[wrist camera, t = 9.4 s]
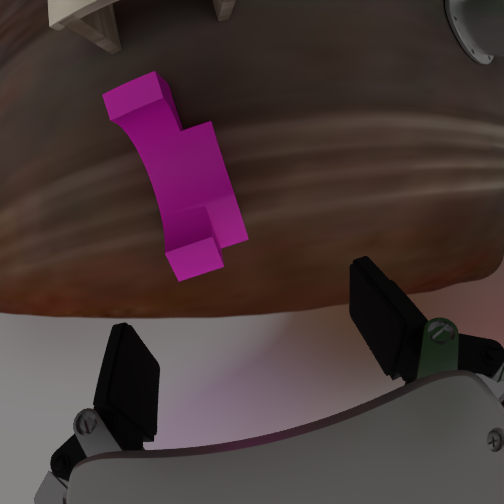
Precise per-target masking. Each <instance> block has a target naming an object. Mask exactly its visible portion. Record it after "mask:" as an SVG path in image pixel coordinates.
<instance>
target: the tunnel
mask: <svg viewBox="0 0 504 504" xmlns="http://www.w3.org/2000/svg"><path fill="white" fill-rule="evenodd" d="M116 1H118V0H48V13H49V27H51V28H53V29H55V30H58V31H59V30H61V29H62V28H64V27H66V28H68V29H70V30H72V31H74V32H75V33H77V34H79V35H81V36H82V37H84V38H86V39H88V40H89V41H91V42H93V43H94V44H96V45H98V46H99V47H101V48H103V49H104V50H106V51H107V52H109V53H111V54H114V53H116V52H118V51H121V50H122V49H121V44H120V39H119V35H118V30H117V24H116V19H115V14H114V8H113V4H112V3H114V2H116ZM235 1H236V0H213V4H214V7H215V11H216V14H217V18H218V21H222V20H227V19H230V16H231V13H232V10H233V7H234V4H235Z"/></svg>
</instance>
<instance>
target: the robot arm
mask: <svg viewBox="0 0 504 504" xmlns="http://www.w3.org/2000/svg"><path fill="white" fill-rule="evenodd" d="M445 8H446V14H447V17H448V20H449V23H450V25H451V28H452V30H453V32H454V34H455V36H456V38H457V40H458V42H459V43H460V45H461V46H462V48H463V49H464V50H465V52H466V53H467V54H468V55H469V56H470V57H471V58H472V59H473V60H474V61H475V62H477V63H479V64H489V63H490V62H491V61H492V59H493V56H503V57H504V0H445ZM349 312H350V316H351V318H352V320H353V321H354V323H355V324H356V327H357V328H358V330H359V331H360V333H361V334H362V336H363V338H364V340H365V341H366V343H367V345H368V346H369V348H370V350H371V351H372V353H373V354H374V356H375V358H376V360H377V361H378V363H379V365H380V366H381V368H382V370H383V372H384V373H385V374H386V375H387V376H388V375H390V376H391V378H392V380H395V379H397V378H399V377H402V379H403V380H404V381H405V385H404V386H402V387H400V388H397V389H395V390H393V391H391V392H389V393H387V394H384V395H382V396H380V397H378V398H375V399H373V400H371V401H368V402H366V403H363V404H361V405H358V406H356V407H353V408H351V409H348V410H346V411H343V412H340V413H338V414H335V415H332V416H330V417H327V418H324V419H321V420H317V421H315V422H311V423H308V424H305V425H301V426H298V427H294V428H291V429H287V430H284V431H280V432H276V433H272V434H267V435H263V436H259V437H254V438H249V439H244V440H239V441H233V442H227V443H221V444H214V445H207V446H199V447H189V448H179V449H163V450H145V449H144V447H143V442H153V441H154V435H156V434H157V412H158V392H159V391H158V390H159V377H160V367H159V364H158V362H157V361H156V359H155V358H154V357H153V355H152V354H151V353H150V351H149V350H148V348H147V347H146V346H145V344H144V343H143V341H142V340H141V339H140V337H139V336H138V334H137V333H136V331H135V330H134V328H133V327H132V326H131V325H128V324H127V323H120V324H115V325H113V327H112V330H111V333H110V336H109V340H108V343H107V347H106V351H105V355H104V358H103V362H102V366H101V370H100V374H99V379H98V383H97V387H96V392H95V397H94V402H93V405H94V409H90V408H87V409H83V410H82V411H80V412H79V413H78V414H77V416H76V417H75V419H74V423H73V429H74V432H75V434H74V435H73V436H71V437H70V438H69V439H68V440H67V441H66V442H65V443H64V444H63V445H62V446H61V447H60V448H59V449H57V450H56V451H55V452H54V454H53V455H52V457H51V462H50V465H51V469H52V472H50V471H48V473H47V475H46V477H45V478H44V480H43V482H42V484H41V485H40V487H39V489H38V491H37V493H36V495H35V498H34V503H35V504H504V349H503V347H502V346H501V344H500V343H498V342H497V341H495V340H492V339H486V338H480V337H475V336H470V335H465V334H459V333H458V329H457V327H456V326H455V324H454V323H453V322H452V321H450V320H448V319H445V318H434V319H431V320H430V321H428V320H427V319H426V317H425V316H424V315H423V314H422V313H421V312H420V310H419V309H418V308H417V307H416V306H415V305H414V303H413V302H412V301H411V300H410V299H409V298H408V297H407V295H406V294H405V293H404V292H403V291H402V290H401V289H400V288H399V287H398V285H397V284H396V283H395V282H394V281H392V280H389V279H388V278H387V277H386V276H385V274H384V273H383V272H382V271H381V270H380V269H379V268H378V267H377V266H376V265H375V264H374V263H373V262H372V261H371V260H370V259H369V257H367V256H364V257H361V258H358V259H355V260H353V264H351V265H350V304H349Z"/></svg>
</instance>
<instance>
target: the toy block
mask: <svg viewBox="0 0 504 504" xmlns="http://www.w3.org/2000/svg"><path fill="white" fill-rule="evenodd" d="M103 99H104V102H105V105H106V108H107V111H108V114H109V117H110V120H111V121H112V122H115V123H117V124H118V125H119V126H120V127H121V128H122V129H123V130H124V131H125V132H126V133H127V135H128V136H129V137H130V139H131V140H132V142H133V144H134V145H135V147H136V149H137V151H138V153H139V154H140V156H141V159H142V161H143V163H144V165H145V167H146V170H147V172H148V175H149V177H150V180H151V183H152V186H153V189H154V192H155V195H156V198H157V202H158V205H159V209H160V213H161V218H162V223H163V228H164V236H165V254H166V257H167V259H168V261H169V263H170V265H171V267H172V269H173V271H174V273H175V275H176V277H177V279H178V281H182V280H185V279H188V278H191V277H194V276H197V275H200V274H203V273H206V272H209V271H212V270H215V269H218V268H221V267H224V264H223V258H222V252H221V248H224V247H227V246H230V245H233V244H236V243H239V242H242V241H245V240H248V236H247V232H246V229H245V226H244V223H243V220H242V216H241V213H240V210H239V207H238V204H237V201H236V197H235V194H234V191H233V188H232V185H231V182H230V179H229V176H228V173H227V170H226V167H225V164H224V161H223V158H222V155H221V152H220V148H219V145H218V142H217V139H216V136H215V132H214V129H213V126H212V122H211V121H208V122H205V123H202V124H199V125H196V126H193V127H190V128H187V129H184V130H183V127H182V124H181V121H180V118H179V115H178V112H177V109H176V106H175V103H174V100H173V97H172V94H171V91H170V88H169V84H168V83H167V82H166V81H165V80H164V79H163V78H162V77H161V76H160V75H159V74H158V73H157V72H155V71H154V72H151V73H148V74H146V75H144V76H141V77H139V78H137V79H134V80H132V81H130V82H128V83H125V84H123V85H121V86H119V87H117V88H115V89H113V90H111V91H109V92H107V93H105V94H103Z"/></svg>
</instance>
